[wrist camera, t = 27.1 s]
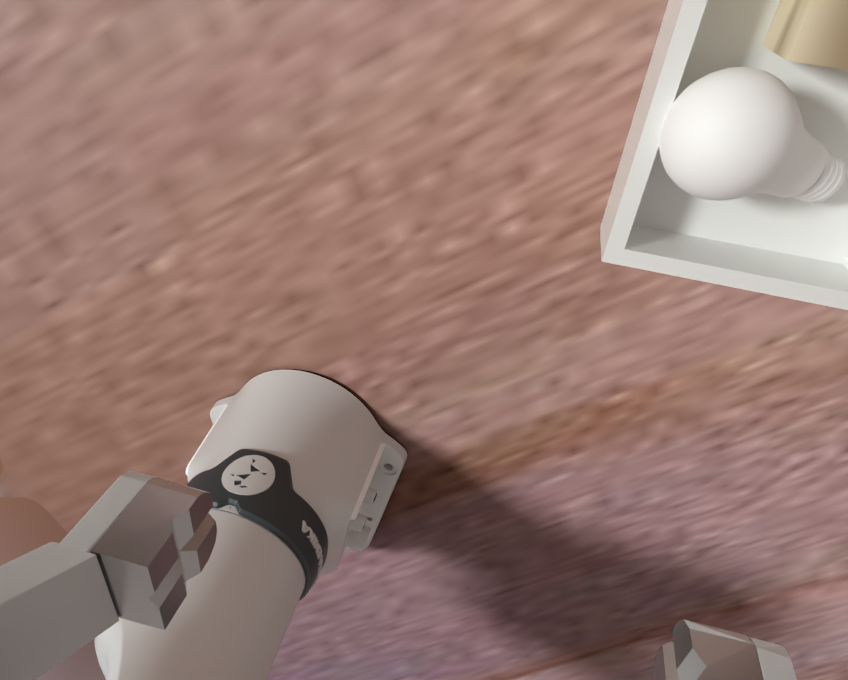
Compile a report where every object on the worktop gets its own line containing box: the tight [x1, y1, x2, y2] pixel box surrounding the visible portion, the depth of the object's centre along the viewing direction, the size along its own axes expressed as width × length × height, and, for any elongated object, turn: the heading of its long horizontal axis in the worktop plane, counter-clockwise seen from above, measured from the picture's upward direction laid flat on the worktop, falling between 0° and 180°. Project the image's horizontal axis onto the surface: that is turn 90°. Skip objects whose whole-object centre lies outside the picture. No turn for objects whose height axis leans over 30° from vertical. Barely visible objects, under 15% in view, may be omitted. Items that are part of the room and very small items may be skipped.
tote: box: [600, 0, 848, 310], centre depth 29 cm, size 19×15×5 cm
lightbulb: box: [659, 67, 846, 203], centre depth 29 cm, size 6×6×11 cm
